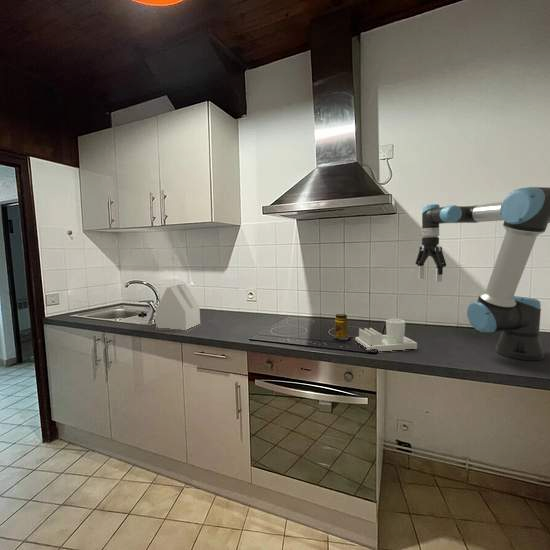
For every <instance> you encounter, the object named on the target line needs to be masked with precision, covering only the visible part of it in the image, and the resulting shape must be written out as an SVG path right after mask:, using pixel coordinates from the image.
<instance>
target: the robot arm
mask: <svg viewBox="0 0 550 550" xmlns="http://www.w3.org/2000/svg"><path fill="white" fill-rule="evenodd" d="M421 217H422V218H421V229H422V230H421V236H422V238H421V245H422V246H419V250H418V254H417V257H416V260H415V265H417V266H418V269H417V270H418V272H417V273H418V279H419V280H420V279H423V280H424V279H425V263H426V261H427V259H428V257H431V258H432V260H433V261H434V263H435V266H436V267H435V282H437V283H439V282H441V283H442V282H443V271H444V270H443V269H444V268H445V267H446V268H447V263H446V262H447V261H446V259H445V256H444V253H443V248H442V246H437V245H440V238H439V236H440V224H476V223H485V222H499V221H503V223H502V226H503V228H504V230H505V234H504V238H503V240H502V243H501V245H500V248H499V251H498V254H497V258H496V260H495V264H494V265H493V268H492V271H491V275H490V277H489V280H488V284H487V286H486V289H485V291H482V292H480V293H479V295H478V298H477V301H473V302H471V303H469V305H468V306H467V309H466V317H467V320H468V321H469V324H470V325H471V326H472V327H473V328H474V329H475V330H476V331H479V332H481V333H494V332H501V334H500V336H499V337H498V340H497V342H496V345H495V351H496V353H497V354H499V355H501V356H504V357H506V358H510V359H515V360H516V359H517V360H521V361H532V362H533V361H534V362H535V361H543V360H544V358H545V351H544V349H543V345H542V342H541V340H540V328H541V327H540V326H541V325H540V324H541V311H542V309H541V301H540V300H539V299H537V298H532V297H525V296H524V297H523V296H517V295H515V294H516V292H517V289H518V287H519V284H520V281H521V278H522V276H523V274H524V270H525V268H526V266H527V263H528V260H529V258H530V255H531V253H532V251H533V248H534V245H535V242H536V239H537V237H538V236H539V235H541V234H543V233H545V232H546V229H547V228H548V224H550V187H547V186H546V187H544V186H543V187H540V186H529V187H521V188H517V189H515V190H512V191H511V192H510V193H508V194H507V195H506V196H505V197H504V198H503V200H502V201H500V202H499V201H498V202H494V203H486V204H479V205H478V204H476V205H466V206H463V205H462V206H460V205H459V206H458V205H455V204H453V205H446V206H442V207H440V205H439V204H438V203H437V204H433V203H432V204H426V205H423V207H422V213H421Z"/></svg>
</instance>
